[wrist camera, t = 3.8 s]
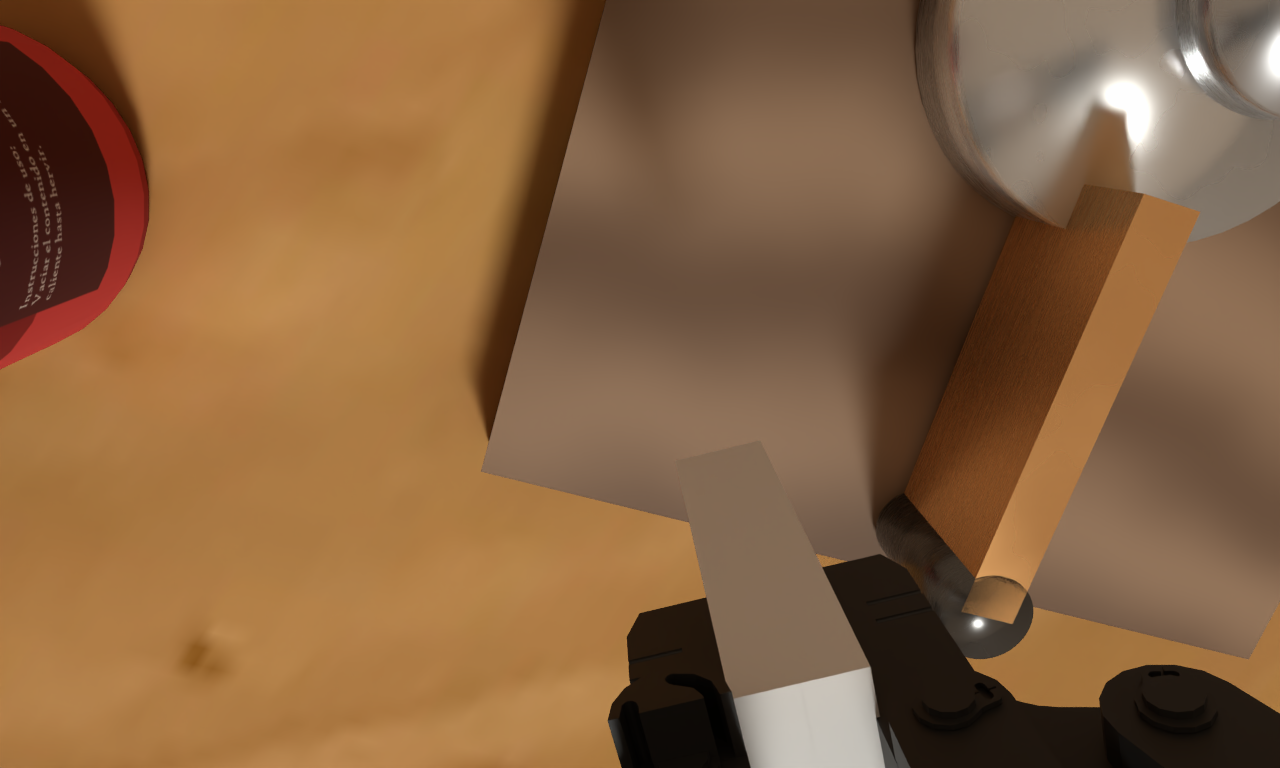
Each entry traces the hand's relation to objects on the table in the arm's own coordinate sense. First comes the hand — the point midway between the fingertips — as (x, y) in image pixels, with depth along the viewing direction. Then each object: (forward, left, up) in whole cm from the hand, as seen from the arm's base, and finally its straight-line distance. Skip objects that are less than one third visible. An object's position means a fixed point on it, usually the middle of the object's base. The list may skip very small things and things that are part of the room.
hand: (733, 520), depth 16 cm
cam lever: (+11, -7, -7) cm, 14 cm away
